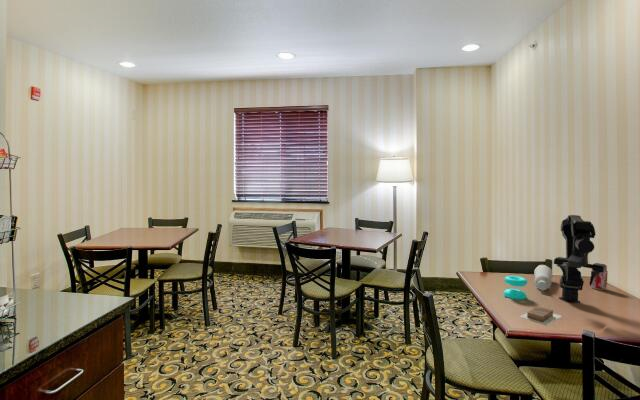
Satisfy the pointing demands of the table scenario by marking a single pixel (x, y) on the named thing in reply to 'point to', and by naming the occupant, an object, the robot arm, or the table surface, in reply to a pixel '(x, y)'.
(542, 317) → the board
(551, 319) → the mat
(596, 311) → the table surface
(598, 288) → the soda can
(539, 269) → the bottle
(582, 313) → the table surface
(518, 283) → the donuts
